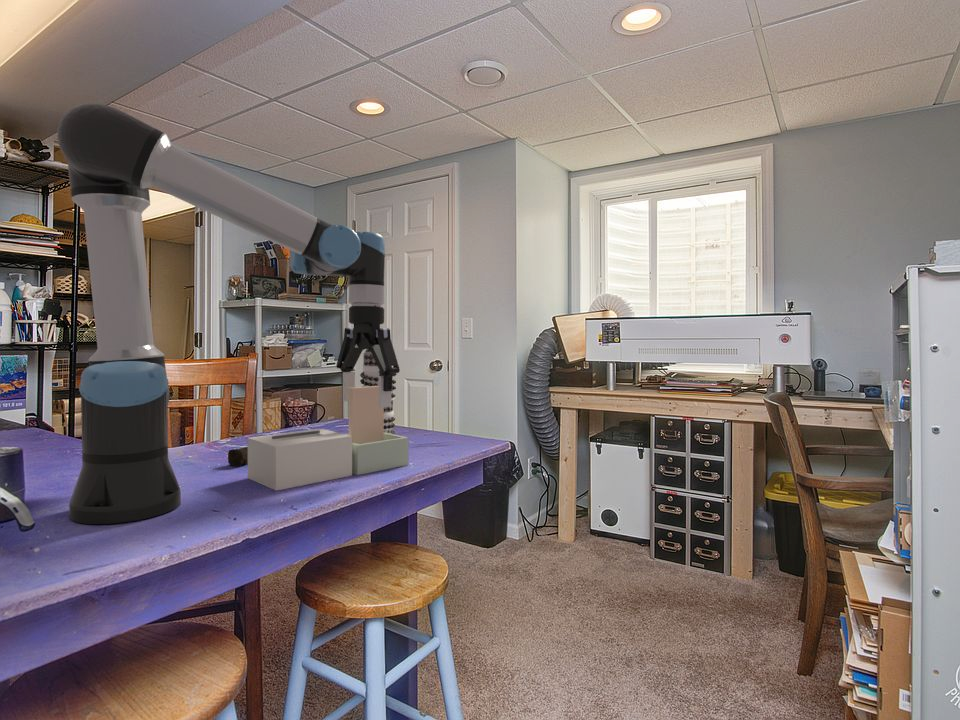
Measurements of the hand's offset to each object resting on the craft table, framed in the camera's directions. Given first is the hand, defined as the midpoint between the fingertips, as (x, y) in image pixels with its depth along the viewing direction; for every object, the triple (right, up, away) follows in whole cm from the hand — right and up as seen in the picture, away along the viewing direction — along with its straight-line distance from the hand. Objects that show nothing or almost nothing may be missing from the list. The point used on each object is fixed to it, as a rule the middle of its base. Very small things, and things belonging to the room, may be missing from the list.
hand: (366, 403), depth 122 cm
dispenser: (-11, -14, -10) cm, 20 cm away
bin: (0, -13, +1) cm, 13 cm away
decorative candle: (-1, -13, +22) cm, 26 cm away
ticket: (0, -12, +1) cm, 12 cm away
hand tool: (-25, -13, +6) cm, 29 cm away
